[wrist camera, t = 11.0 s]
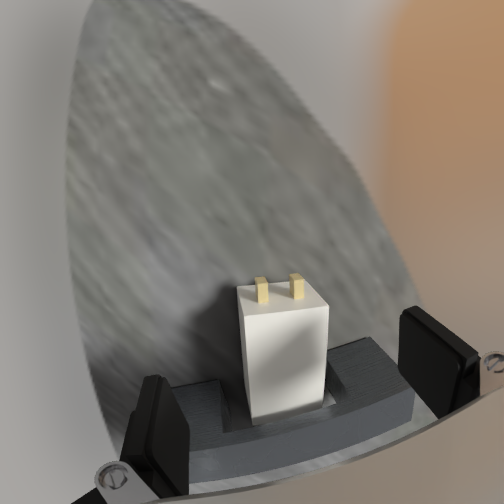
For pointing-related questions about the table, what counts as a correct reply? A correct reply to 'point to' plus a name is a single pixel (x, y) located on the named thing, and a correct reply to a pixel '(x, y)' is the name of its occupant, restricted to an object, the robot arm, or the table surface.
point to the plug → (282, 348)
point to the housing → (298, 418)
